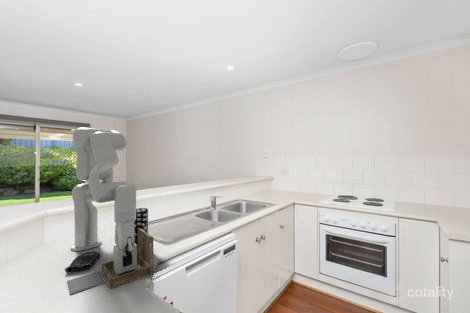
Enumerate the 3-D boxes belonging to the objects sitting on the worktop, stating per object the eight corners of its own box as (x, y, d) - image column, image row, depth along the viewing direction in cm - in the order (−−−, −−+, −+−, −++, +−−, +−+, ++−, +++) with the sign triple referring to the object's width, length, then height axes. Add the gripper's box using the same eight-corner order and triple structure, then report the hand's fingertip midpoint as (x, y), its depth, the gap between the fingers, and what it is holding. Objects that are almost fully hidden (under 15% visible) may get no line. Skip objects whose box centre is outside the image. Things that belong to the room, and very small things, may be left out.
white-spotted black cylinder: (128, 251, 102) (128, 209, 102) (147, 247, 106) (147, 207, 106) (128, 258, 95) (128, 213, 95) (149, 254, 99) (148, 211, 99)
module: (113, 268, 83) (113, 244, 83) (132, 262, 88) (132, 239, 88) (117, 274, 79) (117, 248, 79) (136, 267, 84) (136, 243, 84)
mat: (67, 281, 77) (67, 280, 77) (99, 271, 84) (99, 270, 84) (69, 295, 70) (69, 294, 70) (105, 282, 77) (105, 281, 77)
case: (101, 271, 84) (101, 236, 84) (140, 259, 94) (140, 227, 94) (111, 290, 72) (111, 249, 72) (154, 274, 82) (154, 237, 82)
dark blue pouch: (93, 274, 86) (103, 253, 100) (90, 261, 85) (101, 242, 99) (66, 281, 83) (80, 258, 97) (63, 268, 82) (77, 247, 96)
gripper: (109, 213, 87) (109, 257, 87) (120, 223, 74) (120, 275, 75) (129, 209, 92) (129, 252, 92) (143, 219, 79) (142, 268, 80)
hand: (125, 262), depth 83 cm, fingers closed on module, 5 cm apart
